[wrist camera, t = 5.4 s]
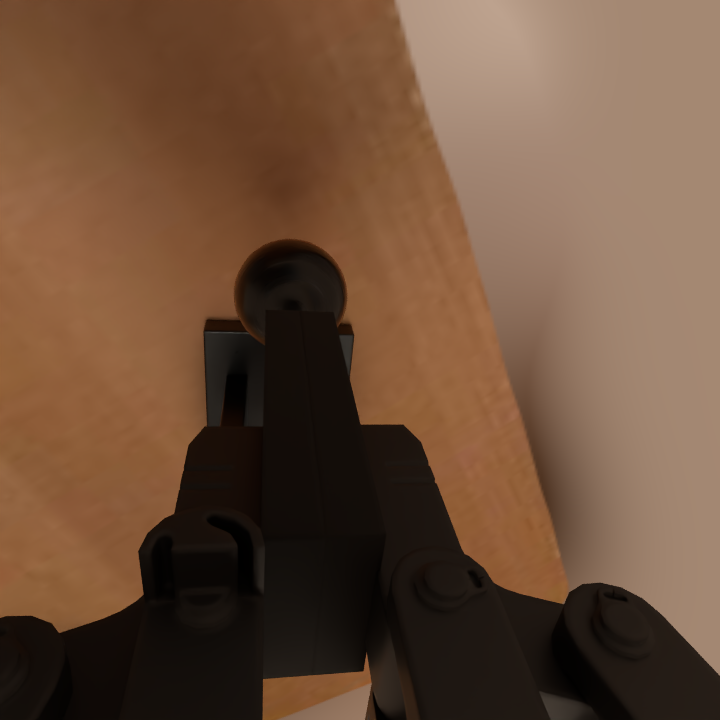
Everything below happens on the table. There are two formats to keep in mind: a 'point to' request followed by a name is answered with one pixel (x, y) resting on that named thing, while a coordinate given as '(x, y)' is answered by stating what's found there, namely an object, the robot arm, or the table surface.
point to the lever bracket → (242, 372)
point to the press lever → (288, 283)
